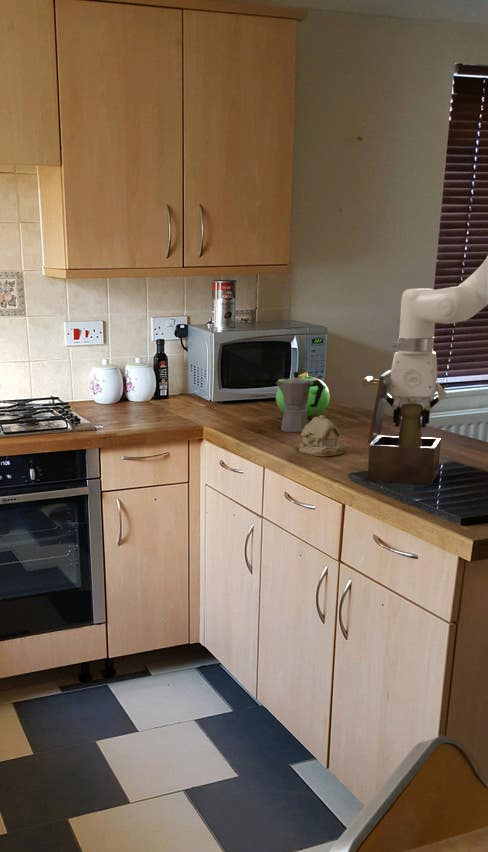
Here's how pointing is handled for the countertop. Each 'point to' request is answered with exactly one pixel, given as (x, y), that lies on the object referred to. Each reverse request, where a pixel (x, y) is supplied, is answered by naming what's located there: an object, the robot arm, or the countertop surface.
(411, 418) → the cork
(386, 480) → the chest
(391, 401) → the robot arm
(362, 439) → the countertop surface
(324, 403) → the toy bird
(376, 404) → the lid
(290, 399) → the coffeepot
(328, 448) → the ceramic model
